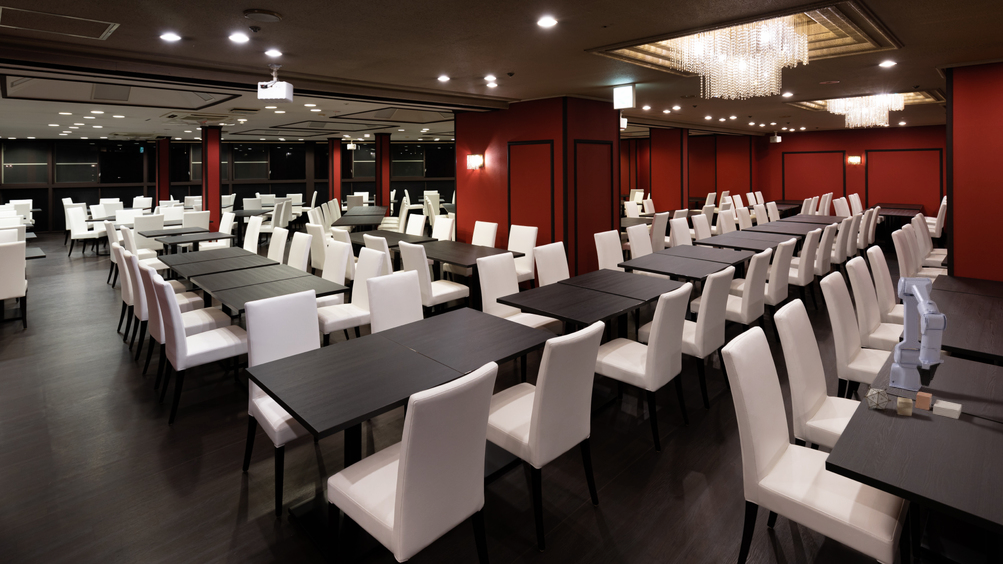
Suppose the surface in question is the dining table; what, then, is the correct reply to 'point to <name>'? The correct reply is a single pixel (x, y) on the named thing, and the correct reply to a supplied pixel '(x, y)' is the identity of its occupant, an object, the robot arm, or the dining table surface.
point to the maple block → (904, 406)
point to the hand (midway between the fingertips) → (926, 382)
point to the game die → (877, 398)
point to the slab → (947, 409)
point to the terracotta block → (923, 400)
